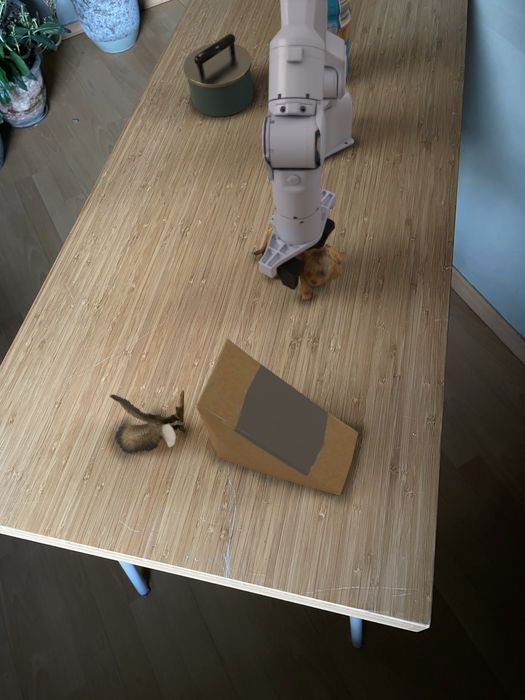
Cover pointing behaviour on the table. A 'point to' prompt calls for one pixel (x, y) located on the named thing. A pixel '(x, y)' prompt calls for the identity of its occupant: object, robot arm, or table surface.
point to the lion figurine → (315, 265)
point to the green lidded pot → (219, 77)
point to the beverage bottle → (339, 21)
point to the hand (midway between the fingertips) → (300, 272)
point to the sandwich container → (273, 425)
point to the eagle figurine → (148, 428)
